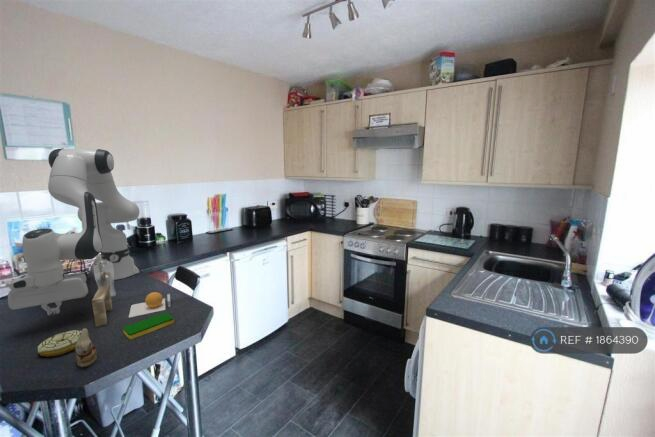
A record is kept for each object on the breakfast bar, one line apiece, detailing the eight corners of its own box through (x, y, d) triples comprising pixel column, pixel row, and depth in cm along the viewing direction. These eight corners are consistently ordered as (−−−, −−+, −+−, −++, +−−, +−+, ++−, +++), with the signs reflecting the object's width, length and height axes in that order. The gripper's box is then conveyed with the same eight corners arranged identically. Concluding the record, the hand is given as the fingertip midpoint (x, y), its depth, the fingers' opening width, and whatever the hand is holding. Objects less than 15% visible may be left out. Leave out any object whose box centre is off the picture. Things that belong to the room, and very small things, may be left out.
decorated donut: (50, 343, 94) (48, 332, 94) (90, 336, 98) (89, 325, 97) (31, 362, 85) (29, 350, 84) (77, 353, 88) (75, 342, 88)
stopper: (167, 300, 124) (167, 294, 124) (170, 299, 125) (169, 293, 124) (168, 307, 117) (167, 301, 117) (171, 306, 118) (170, 300, 117)
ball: (166, 297, 122) (153, 308, 120) (156, 287, 120) (142, 297, 118) (165, 302, 117) (151, 312, 115) (154, 291, 115) (140, 301, 113)
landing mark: (131, 305, 120) (131, 305, 120) (165, 298, 125) (165, 298, 125) (128, 317, 109) (128, 317, 109) (165, 310, 115) (165, 309, 115)
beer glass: (106, 299, 125) (101, 266, 123) (93, 298, 127) (88, 265, 124) (121, 293, 132) (116, 261, 130) (108, 292, 134) (103, 260, 131)
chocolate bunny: (67, 370, 80) (61, 336, 79) (85, 353, 88) (79, 322, 86) (90, 367, 81) (84, 334, 80) (105, 351, 89) (101, 320, 87)
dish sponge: (123, 333, 99) (122, 327, 99) (166, 318, 110) (165, 311, 109) (130, 341, 95) (129, 334, 94) (174, 324, 105) (174, 317, 105)
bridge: (95, 326, 103) (91, 300, 102) (103, 309, 116) (99, 286, 115) (106, 324, 105) (102, 298, 103) (112, 307, 118) (109, 284, 116)
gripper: (87, 268, 109) (92, 303, 111) (10, 279, 99) (18, 317, 102) (83, 273, 103) (89, 310, 106) (1, 285, 94) (10, 325, 96)
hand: (54, 313), depth 104 cm, fingers closed
